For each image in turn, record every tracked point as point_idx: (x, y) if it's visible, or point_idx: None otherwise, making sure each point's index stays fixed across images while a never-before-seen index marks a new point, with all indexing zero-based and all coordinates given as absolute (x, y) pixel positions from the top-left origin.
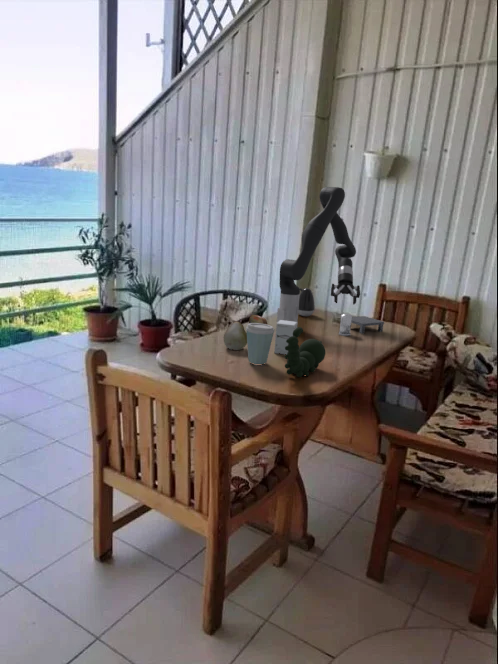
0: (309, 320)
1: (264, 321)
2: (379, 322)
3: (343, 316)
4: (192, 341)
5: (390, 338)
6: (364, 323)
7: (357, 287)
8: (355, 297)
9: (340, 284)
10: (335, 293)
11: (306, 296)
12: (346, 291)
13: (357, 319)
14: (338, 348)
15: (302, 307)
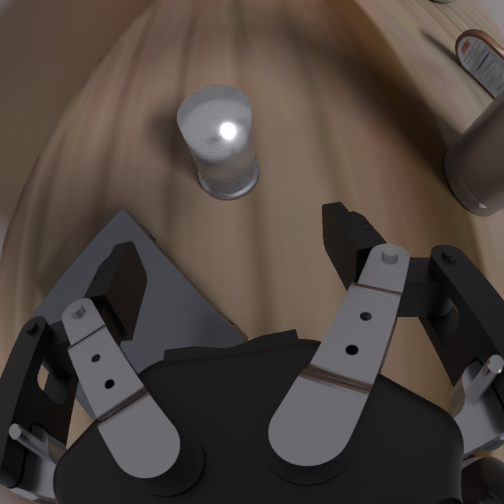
0: (438, 402)
1: (473, 31)
2: (43, 300)
3: (233, 90)
4: (500, 32)
5: (46, 210)
6: (113, 224)
7: (5, 438)
8: (92, 299)
9: (402, 488)
10: (398, 254)
11: None
12: (210, 349)
13: (151, 328)
14: (239, 17)
15: (492, 462)
